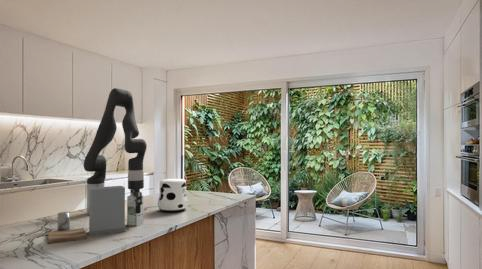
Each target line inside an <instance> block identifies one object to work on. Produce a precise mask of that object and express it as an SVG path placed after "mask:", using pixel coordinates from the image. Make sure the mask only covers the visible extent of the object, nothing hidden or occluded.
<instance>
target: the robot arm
mask: <svg viewBox="0 0 482 269" xmlns="http://www.w3.org/2000/svg"><path fill="white" fill-rule="evenodd" d="M116 107H121V108H124V109H125V115H124V117H123V118H122V123H121V125H122V126H121V127H122V130H123V134H124V146H123V147H124V151H125V152H126V153H127V154H136V156H134V157H132V158H129V159H128V164H127V166H128V167H127V168H128V170H127V189H128V190H130V193H129V196H130V195H132V196H133V197H136V199H135V198H134V202H135V205H136V214H138V213H140V212H141V207H140V205H142V195H143V192H141V191H140V190H141V189H144V185H145V184H144V183H145V180H144V179H145V178H144V177H145V174H144V160H145V156H146V155H145V154H146V152H147V147H148V146H147V142H146V140H144V139H143V138H142V139H141V138H137V137H138V136H139V135H140V131H139V129H138V128H139V127H138V125H137V121H136V116H135V106H134V98H133V94H132V92H131V91H129V90H125V89H121V88H117V87H115V88H114V87H113V88H112V89H111V90H110V92H109V95H108V98H107V101H106V105H105V108H104V112H103V115H102V117H101V120H100V122H99V126H98V127H97V130H96V133H95V136H94V139H93V141H92V143H91V146H90V147H89V149H88V151H87V154H86V156H85V157H84V160H83V168H84V171H86V172H90V173H91V172H94V174H93V175H91V176H90V177H88V178H87V179H86V215H89V201H90V188H94V187H105V179H106V176H107V158H106V157H105V156H104V155H102V154H100V153H101V152H102V151H103V149H105V148H106V147H107V146H108V145H109V144H110V143H111V142H112V140H114V137H115V135H116V132H117V128H118V127H117V123H116V119H115V115H114V114H115V109H116Z"/></svg>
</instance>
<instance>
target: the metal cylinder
mask: <svg viewBox="0 0 482 269" xmlns="http://www.w3.org/2000/svg"><path fill="white" fill-rule="evenodd" d="M70 223H71V211H60V212H57V231H65V230H71V228H70V227H71V225H70Z"/></svg>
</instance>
